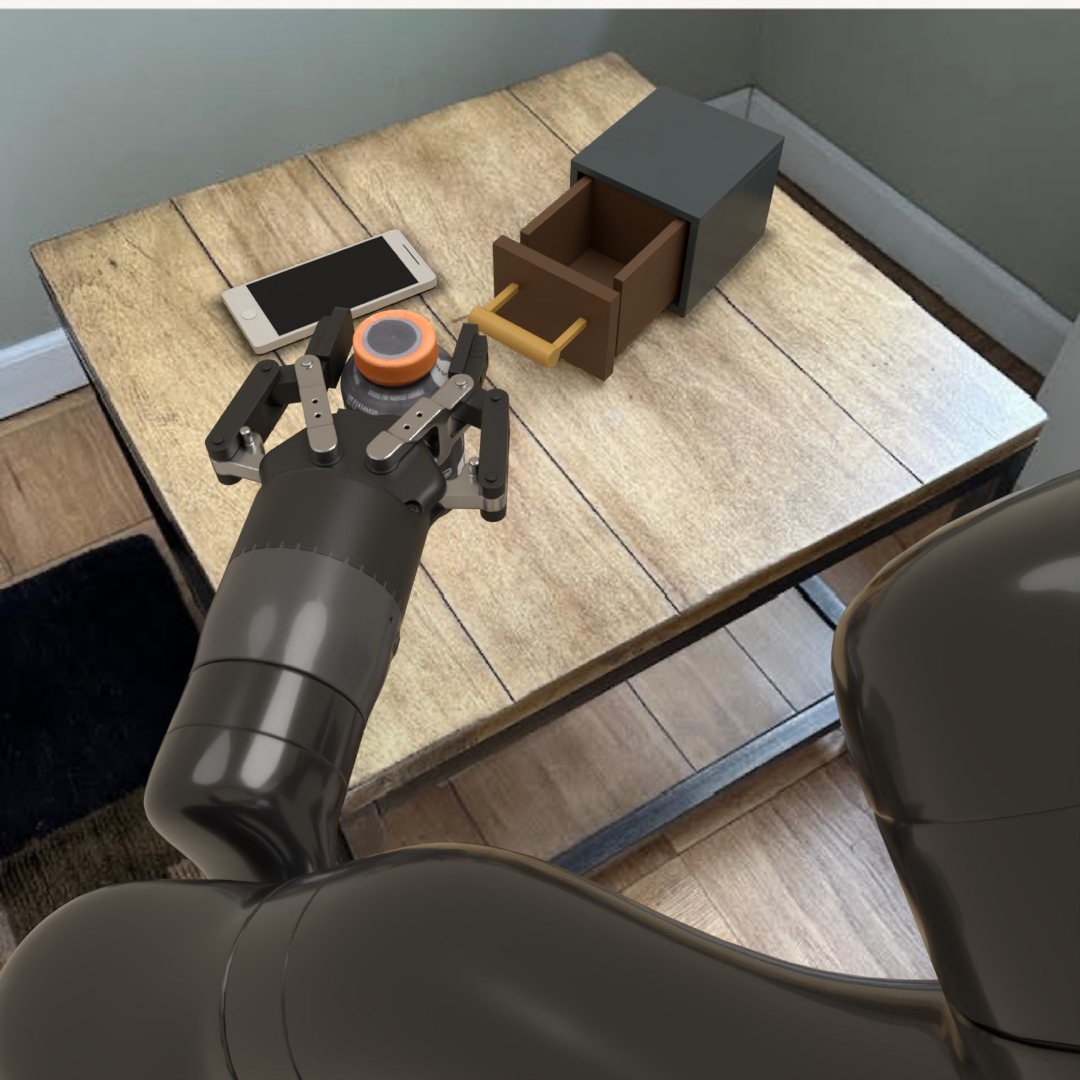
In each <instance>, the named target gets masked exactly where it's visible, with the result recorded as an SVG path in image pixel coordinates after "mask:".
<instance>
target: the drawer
mask: <svg viewBox="0 0 1080 1080" xmlns="http://www.w3.org/2000/svg"><path fill="white" fill-rule="evenodd" d="M690 226H691V222H689V221H687V220H685V219H682V218H680V217H678V216H676V215H674V214H672V213H669V212H667V211H665V210H663V209H661V208H658V207H656V206H654V205H652V204H650V203H648V202H645V201H643V200H641V199H639V198H637V197H635V196H632V195H630V194H628V193H626V192H624V191H621V190H619V189H617V188H615V187H613V186H611V185H608V184H606V183H604V182H602V181H600V180H598V179H595V178H593V177H591V176H589V175H587V174H586V175H585V176H584V177H583V178H582V179H580V180H579V181H578V182H577V183H576V184H574V185H573V186H572V187H571V188H570V187H569V189H567V190H566V191H565V192H564V193H562V194H561V195H560V196H559V197H558V198H556V199H555V200H554V201H553V202H551V204H549V205H548V206H547V207H546V208H544V209H543V211H541V212H540V213H539V214H537V216H535V217H534V218H533V219H532V220H531V221H530V222H528V223H527V224H526V225H525V226H523V228H521V229H520V230H519V241H516V240H515V239H512V238H510V237H509V236H508V235H507V236H506V235H504V234H501V235H500V236H499V237H497V238H496V239H495V240H494V241H493V242H492V273H493V299H492V300H491V301H490V302H488V303H487V304H486V305H485V306H484V307H483V306H481V305H475V306H474V307H473V308H472V309H471V311H470V312H469V314H468V316H467V323H471V324H478V329H479V333H481V334H482V335H485V336H486V337H489V338H490V339H492V340H494V341H495V342H498V343H500V344H501V345H503V346H504V347H507V348H509V349H511V350H512V351H515V352H516V353H518V354H520V355H522V356H524V357H525V358H527V359H529V360H531V361H533V362H534V363H536V364H537V365H540V366H542V367H543V368H545V369H547V370H549V369H552V368H554V366H555V365H556V364H557V363H558V361H559V359H560V360H562V361H564V362H565V363H567V364H570V365H571V366H573V367H575V368H577V369H578V370H581V371H583V372H585V373H587V374H588V375H590V376H592V377H594V378H596V379H598V380H599V381H601V382H603V383H604V382H606V381H607V380H608V379H609V378H610V377H611V376H612V375H613V374H614V368H615V358H617V357H619V355H620V354H621V353H622V352H623V351H624V350H625V349H626V348H627V347H628V346H629V345H630V344H631V343H632V342H633V341H634V340H635V339H636V338H637V337H638V336H639V335H640V334H641V333H642V332H643V331H644V330H645V329H646V328H647V327H648V326H649V325H650V324H651V323H652V322H653V321H654V320H655V319H656V318H657V317H658V316H659V315H660V314H661V313H662V312H663V311H664V310H665V309H667V308H666V307H667V306H668V305H669V304H670V303H671V302H672V301H673V300H674V299H675V298H676V297H677V296H678V295H679V294H680V293H681V287H682V280H683V273H684V266H685V260H686V253H687V246H688V239H689V233H690Z"/></svg>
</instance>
